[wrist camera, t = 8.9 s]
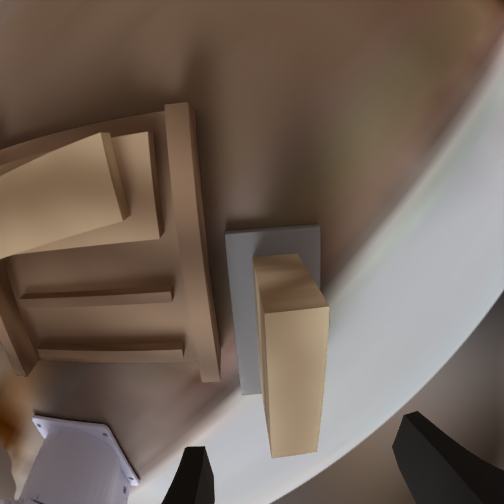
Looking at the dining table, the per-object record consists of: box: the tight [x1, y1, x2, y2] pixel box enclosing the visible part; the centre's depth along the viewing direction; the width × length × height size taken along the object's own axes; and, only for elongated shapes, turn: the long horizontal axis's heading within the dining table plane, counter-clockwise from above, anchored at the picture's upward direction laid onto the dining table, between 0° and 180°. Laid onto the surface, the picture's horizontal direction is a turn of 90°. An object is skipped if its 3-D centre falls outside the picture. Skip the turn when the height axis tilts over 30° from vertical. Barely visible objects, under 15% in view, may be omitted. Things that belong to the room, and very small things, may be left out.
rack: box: [0, 102, 221, 382], centre depth 16 cm, size 14×14×3 cm
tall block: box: [252, 254, 330, 458], centre depth 16 cm, size 2×9×6 cm, turn 4°
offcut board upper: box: [0, 132, 130, 259], centre depth 13 cm, size 4×8×1 cm, turn 102°
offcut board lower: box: [0, 132, 164, 255], centre depth 14 cm, size 5×10×1 cm, turn 94°
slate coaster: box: [225, 224, 321, 395], centre depth 19 cm, size 11×5×1 cm, turn 4°
